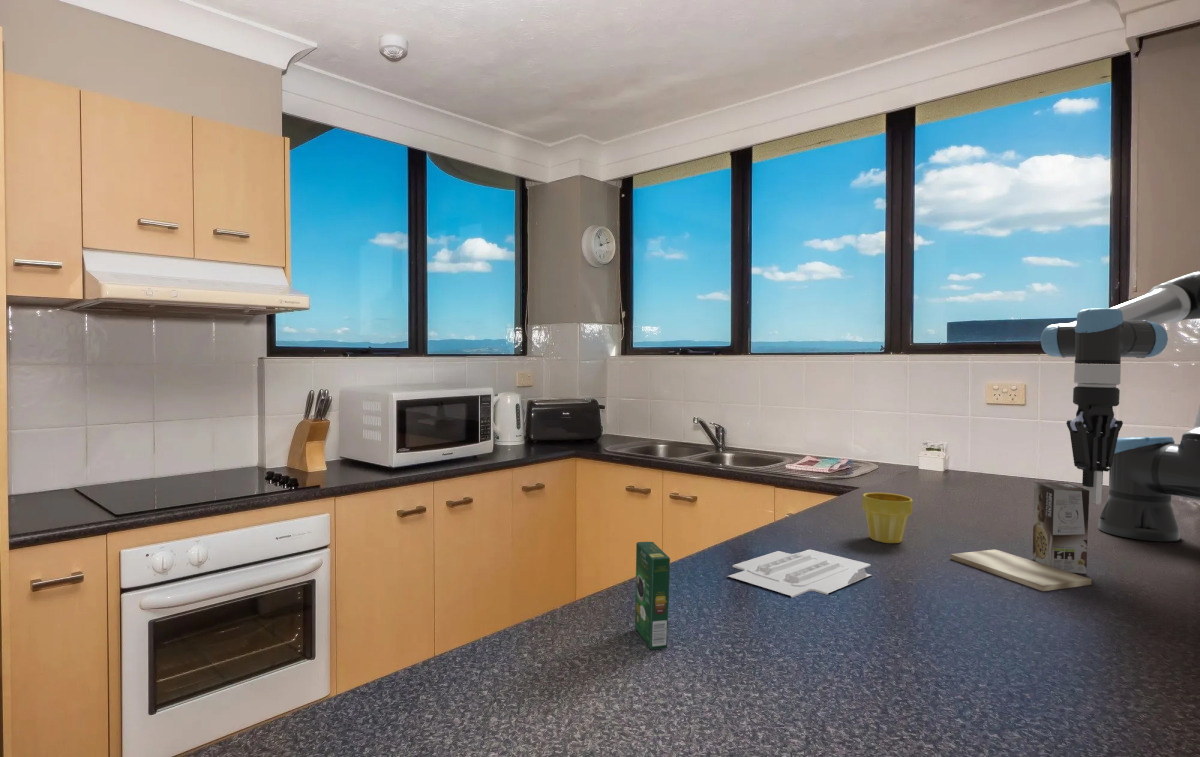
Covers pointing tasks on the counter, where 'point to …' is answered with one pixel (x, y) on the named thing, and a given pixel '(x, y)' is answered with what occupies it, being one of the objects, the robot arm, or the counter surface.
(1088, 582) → the birch board
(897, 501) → the plant pot
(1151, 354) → the robot arm
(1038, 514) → the coffee box
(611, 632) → the counter surface
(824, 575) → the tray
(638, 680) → the counter surface
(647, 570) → the coffee box
